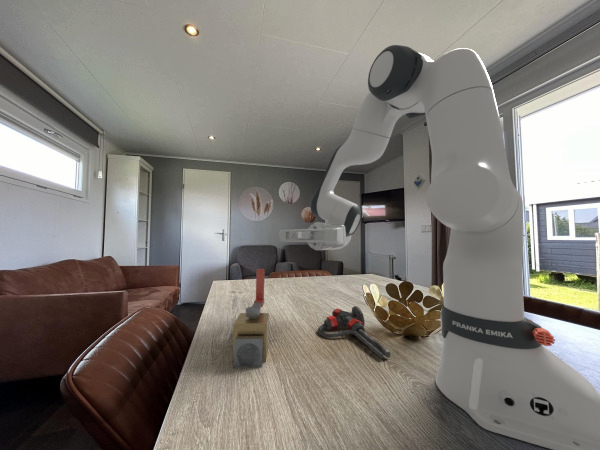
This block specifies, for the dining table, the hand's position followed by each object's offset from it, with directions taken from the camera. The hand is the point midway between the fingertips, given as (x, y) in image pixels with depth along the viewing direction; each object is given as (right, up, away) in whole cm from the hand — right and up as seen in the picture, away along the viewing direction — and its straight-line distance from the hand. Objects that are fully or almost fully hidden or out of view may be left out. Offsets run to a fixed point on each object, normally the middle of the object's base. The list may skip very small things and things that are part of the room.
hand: (293, 234), depth 61 cm
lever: (-9, -18, -4) cm, 21 cm away
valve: (+15, -29, +1) cm, 32 cm away
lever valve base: (-9, -27, -9) cm, 30 cm away
